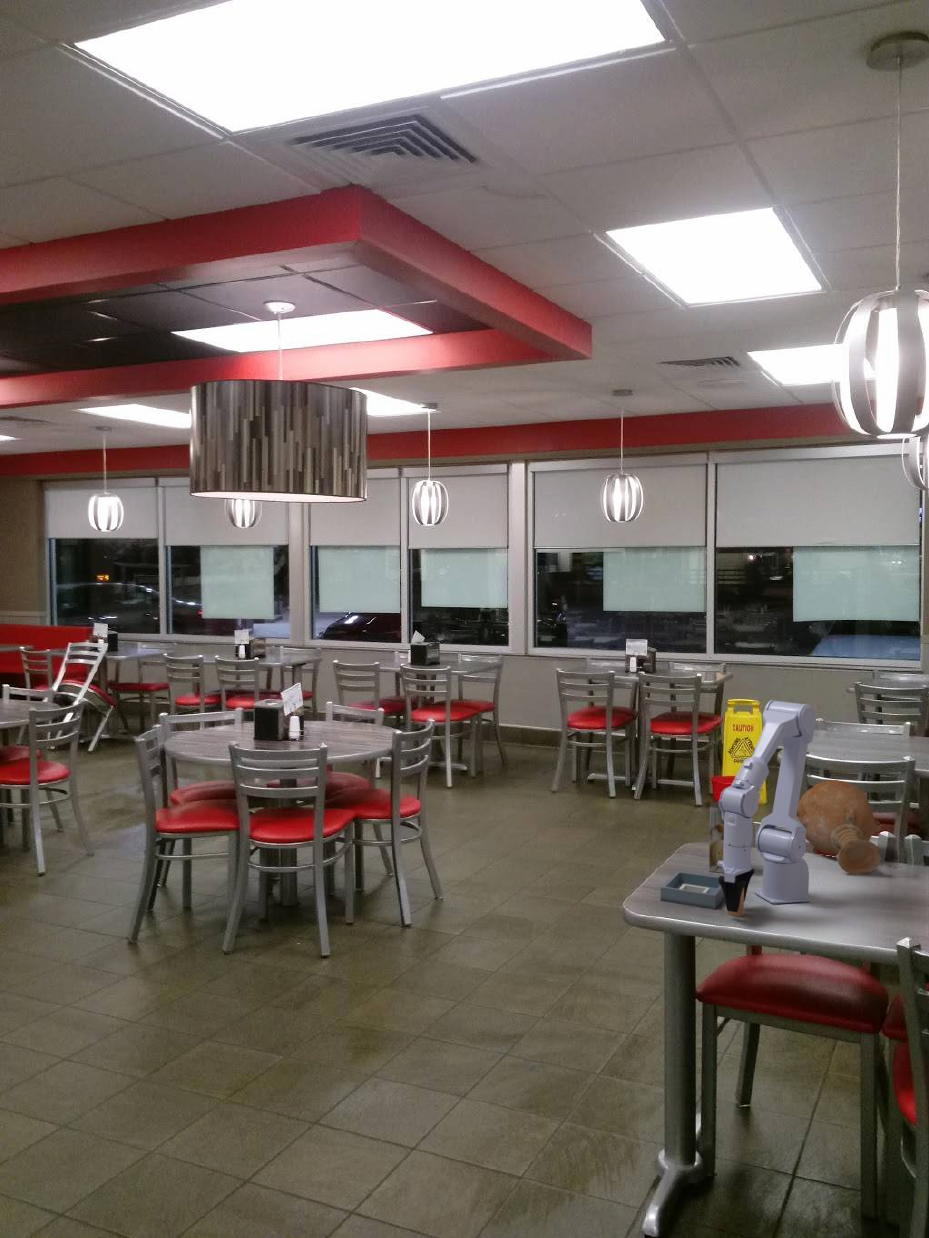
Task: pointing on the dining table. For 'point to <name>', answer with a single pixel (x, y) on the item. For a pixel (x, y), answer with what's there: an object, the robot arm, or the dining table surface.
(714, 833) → the coffee box
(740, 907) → the peg
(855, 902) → the dining table surface
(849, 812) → the jug
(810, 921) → the dining table surface
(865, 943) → the dining table surface
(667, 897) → the tray box
